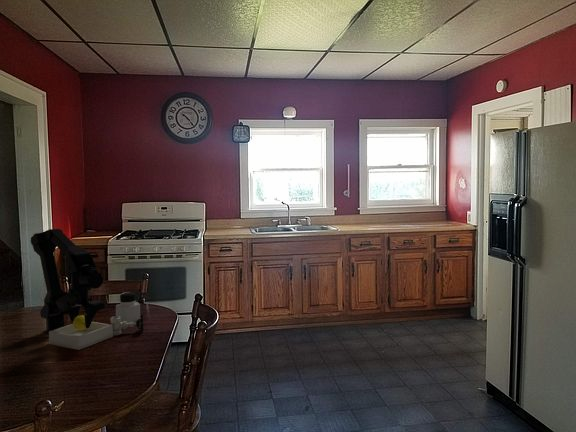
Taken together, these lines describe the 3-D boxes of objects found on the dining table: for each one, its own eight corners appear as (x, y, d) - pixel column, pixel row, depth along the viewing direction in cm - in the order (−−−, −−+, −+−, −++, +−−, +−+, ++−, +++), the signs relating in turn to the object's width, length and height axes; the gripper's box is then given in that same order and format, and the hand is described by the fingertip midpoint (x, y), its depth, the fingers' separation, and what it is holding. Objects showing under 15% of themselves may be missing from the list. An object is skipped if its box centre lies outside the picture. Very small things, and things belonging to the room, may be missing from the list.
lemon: (71, 330, 161) (71, 315, 162) (87, 327, 164) (86, 313, 165) (75, 332, 156) (74, 317, 156) (91, 329, 159) (90, 314, 159)
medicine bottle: (140, 320, 185) (140, 292, 184) (126, 324, 179) (125, 295, 178) (130, 317, 189) (129, 290, 188) (115, 321, 183) (114, 293, 182)
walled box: (49, 343, 157) (48, 331, 157) (84, 331, 170) (83, 320, 170) (78, 350, 151) (78, 337, 150) (112, 336, 164) (112, 325, 164)
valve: (110, 337, 164) (143, 333, 168) (109, 320, 163) (143, 317, 167) (110, 332, 170) (143, 328, 174) (110, 315, 169) (142, 312, 174)
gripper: (42, 287, 156) (43, 330, 157) (79, 292, 148) (80, 337, 149) (69, 281, 166) (70, 321, 167) (105, 285, 158) (106, 327, 159)
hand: (81, 326), depth 160 cm, fingers closed on lemon, 6 cm apart
